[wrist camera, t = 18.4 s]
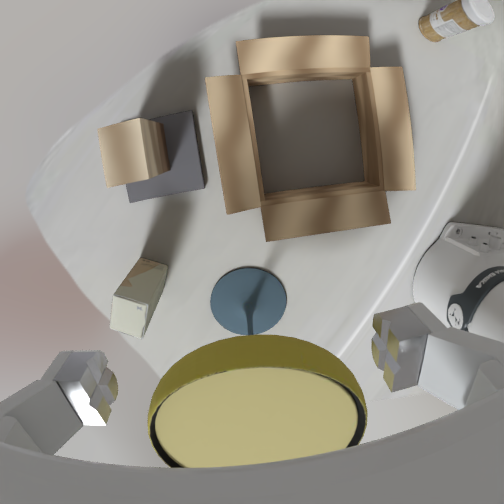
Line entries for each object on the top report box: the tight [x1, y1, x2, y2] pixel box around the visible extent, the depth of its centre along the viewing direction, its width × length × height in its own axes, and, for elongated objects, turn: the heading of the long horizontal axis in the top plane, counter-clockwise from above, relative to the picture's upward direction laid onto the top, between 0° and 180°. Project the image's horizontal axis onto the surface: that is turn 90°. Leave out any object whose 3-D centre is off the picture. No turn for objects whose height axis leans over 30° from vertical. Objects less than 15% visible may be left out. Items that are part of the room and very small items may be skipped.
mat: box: [126, 110, 205, 203], centre depth 38 cm, size 10×10×1 cm
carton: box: [205, 35, 416, 242], centre depth 35 cm, size 23×23×6 cm
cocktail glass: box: [148, 268, 367, 468], centre depth 33 cm, size 18×18×25 cm
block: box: [98, 118, 170, 188], centre depth 32 cm, size 4×6×10 cm
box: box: [110, 258, 168, 339], centre depth 38 cm, size 5×4×11 cm
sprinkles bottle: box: [419, 0, 495, 42], centre depth 26 cm, size 5×5×13 cm
